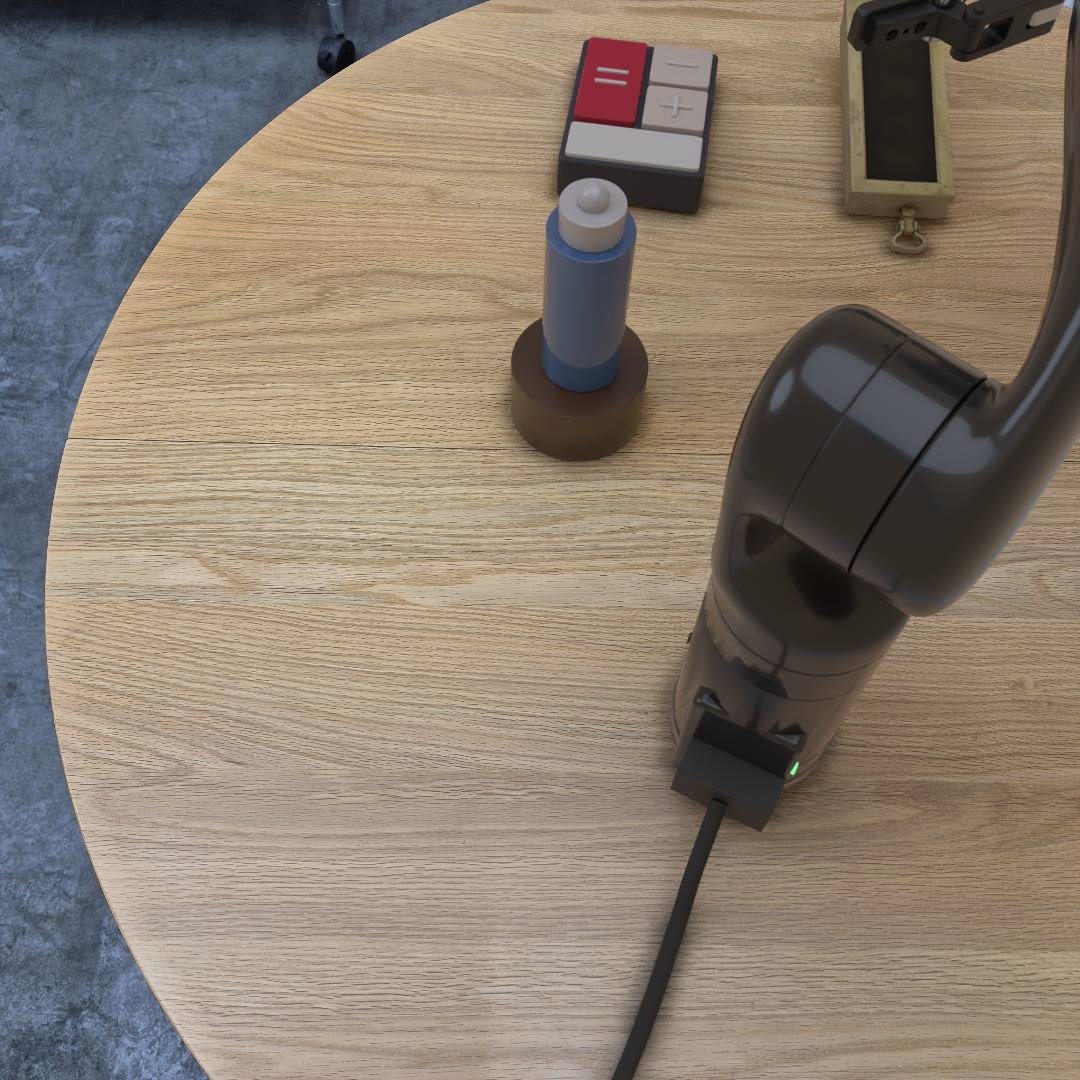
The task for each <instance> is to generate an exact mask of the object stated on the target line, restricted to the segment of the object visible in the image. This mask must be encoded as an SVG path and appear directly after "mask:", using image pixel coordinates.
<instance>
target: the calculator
mask: <svg viewBox="0 0 1080 1080" xmlns="http://www.w3.org/2000/svg"><path fill="white" fill-rule="evenodd" d="M718 66H719V57H718V55H717V54H716V53H715V54H714V52H713V51H712V50H705V49H697V48H689V47H682V46H675V45H664V44H656V45H655V46H651V45H650V46H649V45H648V43H645V42H640V41H633V40H622V39H614V38H608V37H607V38H605V37H598V36H591V37H590V38H588V39H585V40H584V41H583V43H582V48H581V52H580V56H579V61H578V66H577V70H576V75H575V80H574V84H573V89H572V93H571V98H570V102H569V106H568V110H567V116H566V120H565V126H564V130H563V134H562V137H561V138H562V139H561V142H560V147H559V152H558V157H557V158H558V159H557V176H556V194H557V195H558V196H559V197H560V195H561V193H562V192H563V190H564V189H565V188H566V187H567V186H568V185H570V184H571V183H573V182H575V181H578V180H581V179H586V178H598V179H603V180H607V181H609V182H612V183H613V184H615V185H616V186H618V187H619V188H620V189H621V190H622V191H623V192H624V194H625V196H626V198H627V202H628V206H633V207H642V208H649V209H659V210H664V211H665V210H666V211H673V212H681V213H689V214H695V213H697V212H698V211H699V208H700V204H701V197H702V192H703V185H704V180H705V174H706V167H707V166H706V165H707V157H708V150H709V141H710V134H711V133H710V132H711V124H712V115H713V108H714V107H713V106H714V99H715V90H716V84H717V83H716V82H717V74H718V73H717V72H718Z"/></svg>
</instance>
